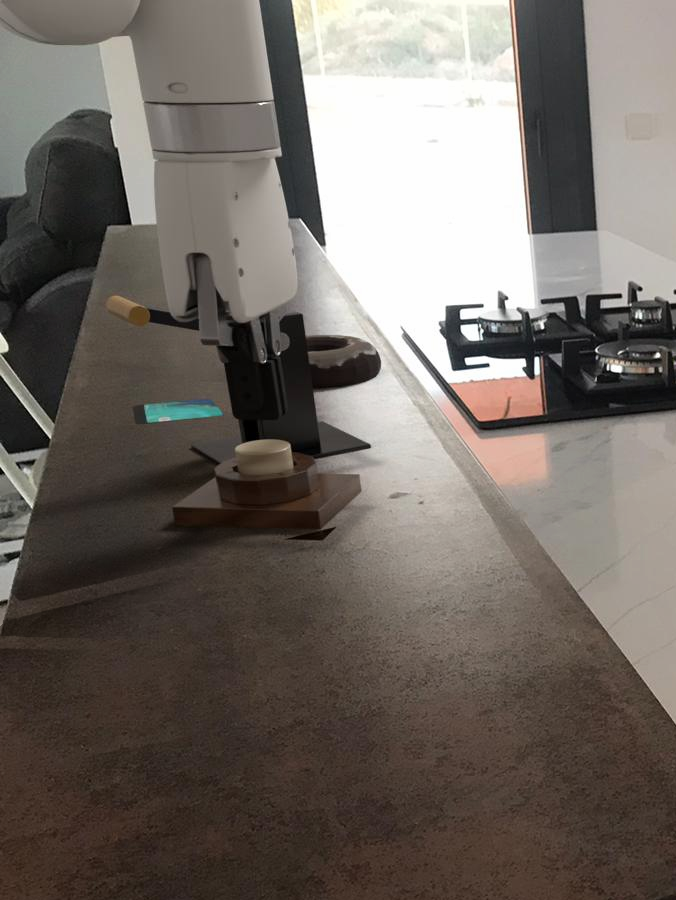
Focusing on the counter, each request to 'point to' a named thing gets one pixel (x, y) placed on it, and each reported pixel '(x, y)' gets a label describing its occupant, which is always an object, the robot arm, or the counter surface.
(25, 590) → the counter surface
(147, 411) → the smartphone
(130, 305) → the switch lever
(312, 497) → the lamp base
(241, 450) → the button
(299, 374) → the switch bracket
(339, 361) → the donut
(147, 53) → the robot arm
